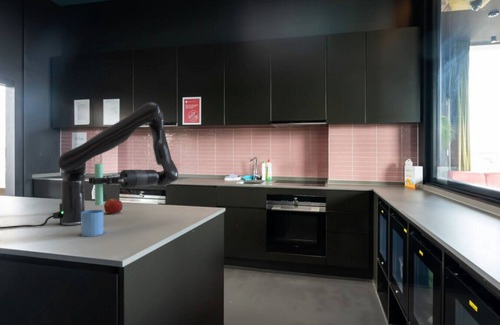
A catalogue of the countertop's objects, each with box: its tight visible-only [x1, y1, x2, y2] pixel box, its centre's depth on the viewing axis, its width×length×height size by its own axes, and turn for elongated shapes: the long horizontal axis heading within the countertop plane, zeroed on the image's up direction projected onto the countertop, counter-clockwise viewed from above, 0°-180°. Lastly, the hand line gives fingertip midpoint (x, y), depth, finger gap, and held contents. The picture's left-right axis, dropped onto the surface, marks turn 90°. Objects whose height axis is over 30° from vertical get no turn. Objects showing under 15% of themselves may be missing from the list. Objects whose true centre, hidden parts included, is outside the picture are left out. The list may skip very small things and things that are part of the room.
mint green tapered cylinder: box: [94, 163, 104, 206], centre depth 121 cm, size 3×3×16 cm
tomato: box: [103, 198, 124, 214], centre depth 167 cm, size 9×9×8 cm
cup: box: [80, 209, 105, 237], centre depth 125 cm, size 8×8×9 cm
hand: (91, 181), depth 118 cm, fingers closed on mint green tapered cylinder, 2 cm apart
